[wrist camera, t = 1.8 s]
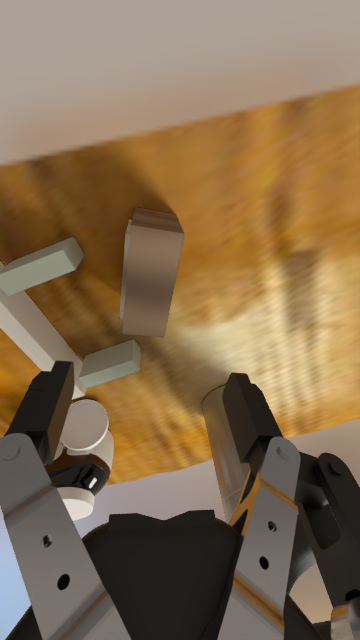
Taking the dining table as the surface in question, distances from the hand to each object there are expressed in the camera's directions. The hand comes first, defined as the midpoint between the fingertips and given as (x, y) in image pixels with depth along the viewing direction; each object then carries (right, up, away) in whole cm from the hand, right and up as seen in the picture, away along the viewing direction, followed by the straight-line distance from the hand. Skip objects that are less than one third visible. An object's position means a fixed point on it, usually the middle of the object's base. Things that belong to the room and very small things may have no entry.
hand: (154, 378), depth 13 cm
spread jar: (-14, -13, +28) cm, 34 cm away
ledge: (-11, +4, +17) cm, 21 cm away
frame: (-2, +10, +14) cm, 17 cm away
